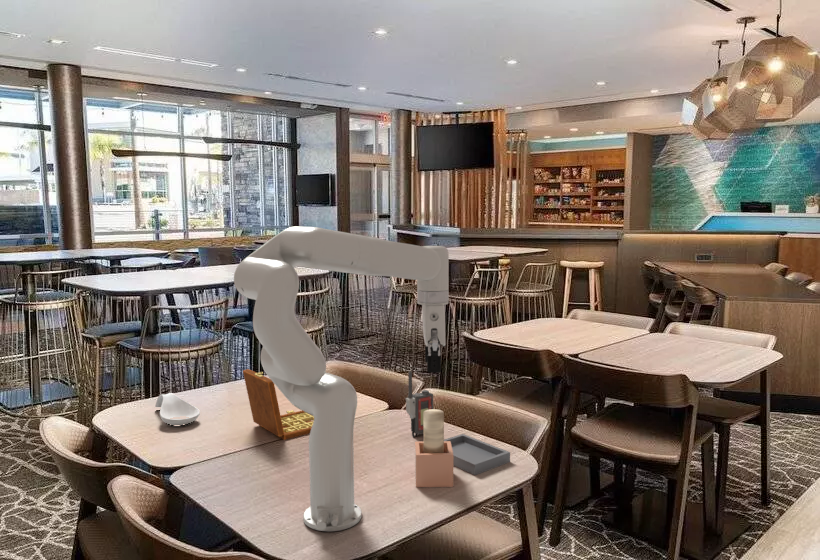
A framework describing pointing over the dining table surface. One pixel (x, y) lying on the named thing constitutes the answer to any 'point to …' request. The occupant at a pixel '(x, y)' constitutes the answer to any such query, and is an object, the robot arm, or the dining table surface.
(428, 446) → the birch dowel
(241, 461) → the dining table surface
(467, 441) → the charcoal tray
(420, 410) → the walkie-talkie
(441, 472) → the terracotta box
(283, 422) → the game set
